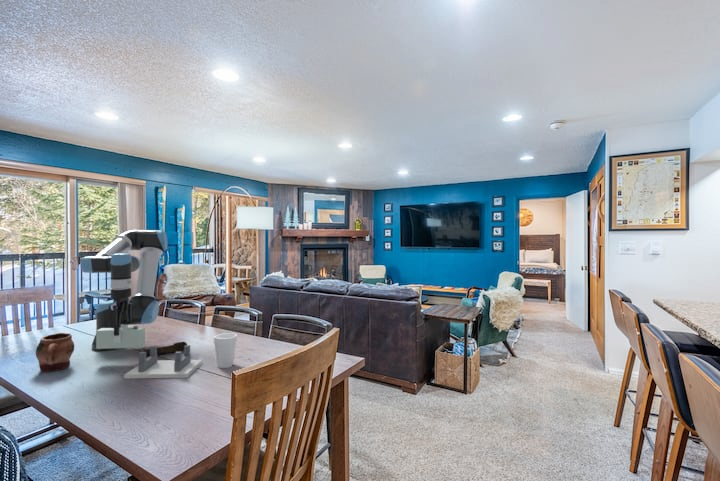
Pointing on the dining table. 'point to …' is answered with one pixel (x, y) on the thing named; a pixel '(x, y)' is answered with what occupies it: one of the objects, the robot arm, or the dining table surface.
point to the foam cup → (225, 349)
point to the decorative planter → (55, 352)
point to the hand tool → (168, 348)
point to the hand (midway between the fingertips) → (121, 340)
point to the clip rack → (164, 365)
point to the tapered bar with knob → (128, 338)
